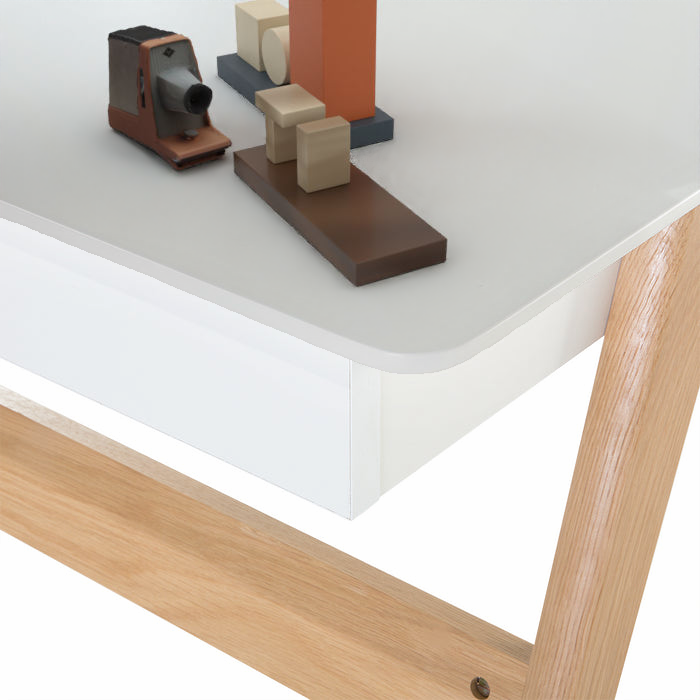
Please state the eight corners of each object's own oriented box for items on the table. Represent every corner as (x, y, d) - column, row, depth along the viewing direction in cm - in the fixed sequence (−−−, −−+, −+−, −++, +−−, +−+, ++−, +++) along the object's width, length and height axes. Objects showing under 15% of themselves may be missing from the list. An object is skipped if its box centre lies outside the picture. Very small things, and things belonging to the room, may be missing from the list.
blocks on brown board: (446, 261, 71) (451, 175, 68) (356, 287, 69) (356, 198, 66) (314, 153, 83) (313, 76, 80) (233, 172, 81) (229, 93, 78)
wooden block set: (393, 138, 85) (395, 62, 82) (316, 156, 83) (316, 78, 80) (287, 61, 97) (285, -8, 94) (217, 75, 95) (213, 4, 92)
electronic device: (178, 176, 80) (169, 65, 76) (105, 129, 86) (93, 24, 82) (235, 158, 82) (229, 49, 78) (159, 114, 89) (150, 10, 85)
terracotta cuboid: (375, 116, 85) (379, -110, 76) (323, 127, 83) (321, -102, 75) (340, 91, 88) (340, -127, 80) (290, 101, 87) (285, -120, 78)
